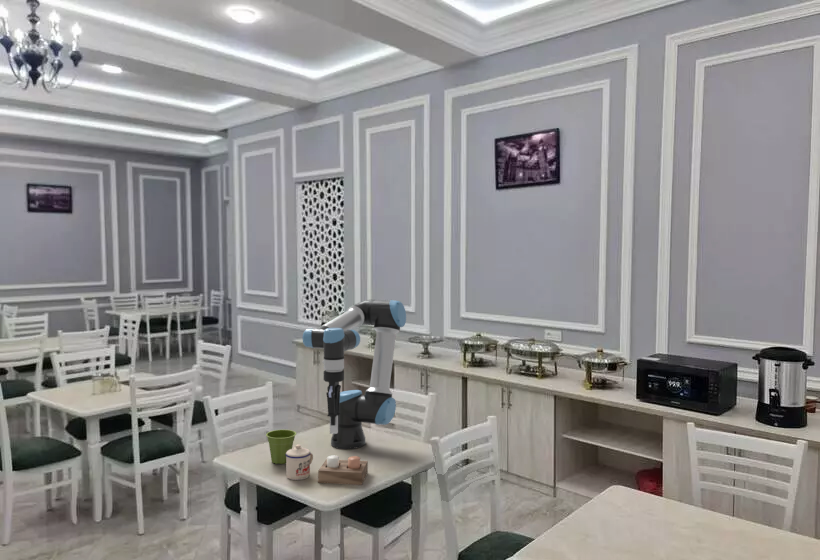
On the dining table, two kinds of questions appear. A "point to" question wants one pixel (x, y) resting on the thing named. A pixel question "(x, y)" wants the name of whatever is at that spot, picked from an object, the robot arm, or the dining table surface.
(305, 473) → the teacup with lid
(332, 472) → the wooden egg holder
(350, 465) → the brown egg
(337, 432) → the robot arm
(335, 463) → the white egg
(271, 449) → the plant pot
